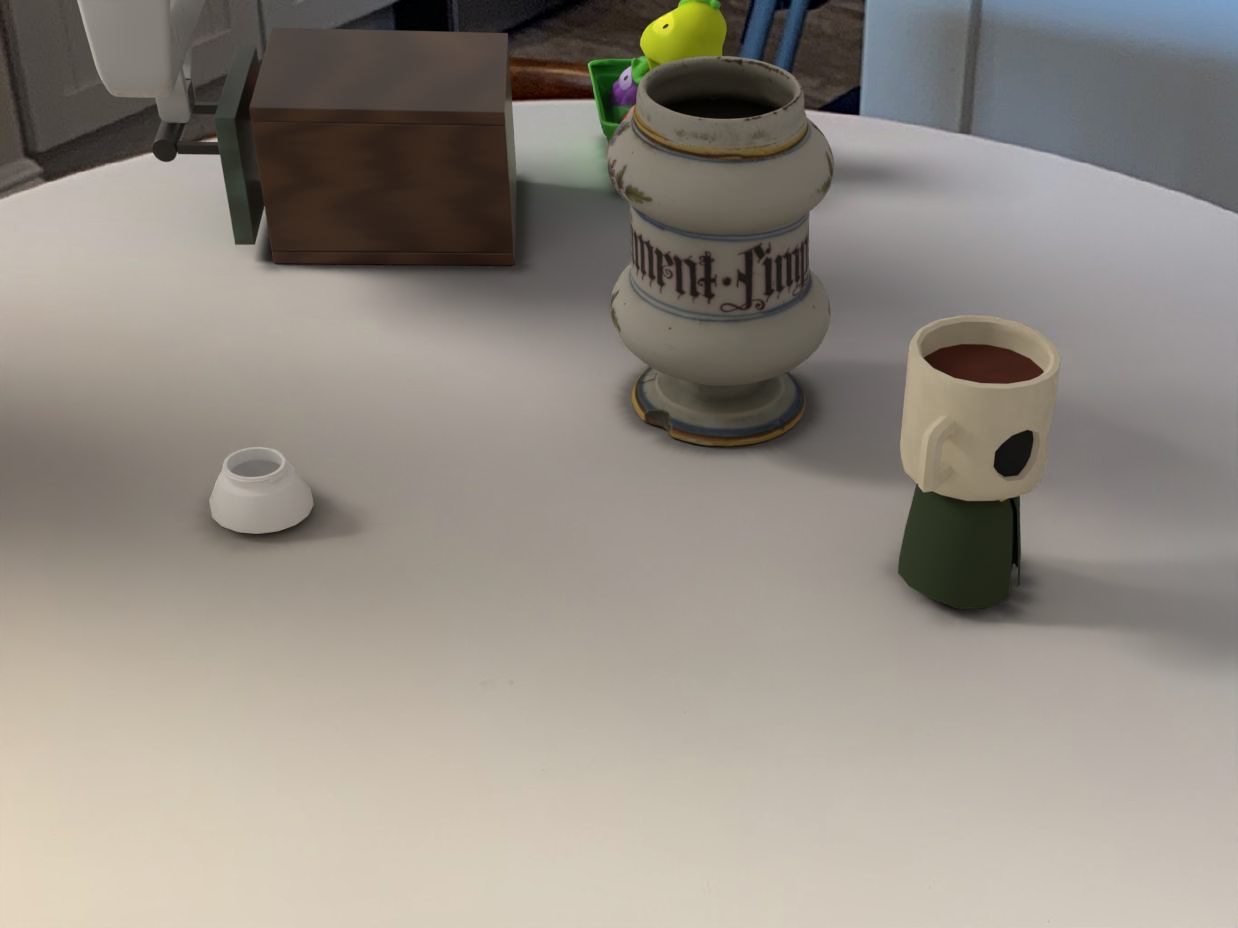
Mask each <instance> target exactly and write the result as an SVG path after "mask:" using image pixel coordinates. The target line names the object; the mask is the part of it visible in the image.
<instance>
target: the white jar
mask: <svg viewBox="0 0 1238 928" xmlns="http://www.w3.org/2000/svg"><path fill="white" fill-rule="evenodd" d="M209 497H210V498H209V500H208V503H209V508H210V512H211V517H212V519H213V520H214V521H215V522H217V524H219V525H220V526H221V527H223V528H225V529H227V530H231V531H233V532H236V533H242V534H243V533H245V534H255V535H259V534H268V533H276V532H280V531H283V530H286V529H289V528H291V527H294V526H296V525H297V524H299V523H300V522H302V521H303V520H305V519H306V518H307V517H308V516H309V515H310V513H311V511H312V509H313V507H314V506H315V504H314V498H313V494H312V490H311V487H310V486H309V485H308V484H307V483H306V482H305V480H304V479H303V477H301V475H300V473H299V472H298V471H297V470H296V468H295V467H293V466H292V465H291V464H290V463H288V461H287V459H286V457H285V455H284V454H283V453H281V452H280V451H279V450H277V449H274V448H271V447H266V446H265V447H264V446H252V447H251V446H250V447H246V448H242V449H238V450H236V451H234V452H232V453H230V454H229V455H228V456H226V457H225V459H224V460H223V463H222V469H221V471H220V473H219V475H218V476H217V479H216V481H215V484H214V487H213V489H212V492H211V495H210V496H209Z"/></svg>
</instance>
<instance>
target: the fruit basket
mask: <svg viewBox="0 0 1238 928" xmlns="http://www.w3.org/2000/svg"><path fill="white" fill-rule="evenodd" d="M721 6H722V4H721V2H720V1H718V0H680V1H679V2H678V6H677V7H676V8H674V9H673V10H671V11H669V12H667V13H665V14H663V15H662V16H660V17H658V18H656V19H655V20H653V21H652V22H651V23H649V24H648V25H647V26H646V28H645V29H644V31H643V33H642V35H641V37H640V41H639V46H640V48H641V51H642V52H643V54H644V55H641V56H640V57H637V58H636V57H633V58H606V59H594V60H591V61H589V62H588V63H587V67H588V71H589V77H590V81H591V84H592V89H593V95H594V102H595V105H596V109H597V113H598V118H599V122H600V126H601V130H602V133H603V135H604V136H605V137H606V141H607V144H608V145H609V142H610V139H611V137H612V135H613V133H614V132H615V130H616V129H617V127H618V126H619V125H620V124H621V122H622V121H623V120H624V119H625V118H626V117H627V116H629V115H630V114H631V113H632V112H633V110H634V107H635V104H636V97H637V90H638V86H639V83H640V81H641V79H642V78H643V77H644V76H645V74H647V73H648V72H649V71H650V70H652V69H653V68H655V67H657V66H659V65H661V64H664V63H668V62H671V61H675V60H679V59H685V58H692V57H702V56H723V46H724V43H725V40H726V35H727V22H726V20H725V18H724V16H723V13H722V11H720V8H721Z"/></svg>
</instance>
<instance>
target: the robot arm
mask: <svg viewBox="0 0 1238 928" xmlns="http://www.w3.org/2000/svg"><path fill="white" fill-rule="evenodd" d="M76 1H77V4H78V9H79V12H80V16H81V19H82V23H83V27H84V30H85V34H86V38H87V41H88V45H89V48H90V51H91V55H92V59H93V62H94V66H95V68H96V72H97V74H98V76H99V79H101V83H102V84H103V85H104V87H105V89H106V90H107V91H108V93H109V95H112V96H113V97H119V98H136V99H137V98H139V99H140V98H141V99H148V98H149V99H150V98H151V99H155V103H156V106H157V107H156V108H157V111H158V117H159V118H160V119H161V120H163V121H164V122H166V123H186V122H187V123H188V122H189V121H190V120H191V115H192V114H191V113H192V110H193V107H194V104H195V102H197V92H196V86H195V82H194V81H195V80H194V71H193V70H194V63H193V61H194V60H193V59H194V57H193V55H194V54H193V53H194V52H193V51H194V50H193V47H194V46H193V38H194V37H193V36H194V34H195V31H196V28H197V26H198V23H199V21H200V17H201V14H202V12H203V9H204V7H205V3H206V1H207V0H76Z"/></svg>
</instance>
